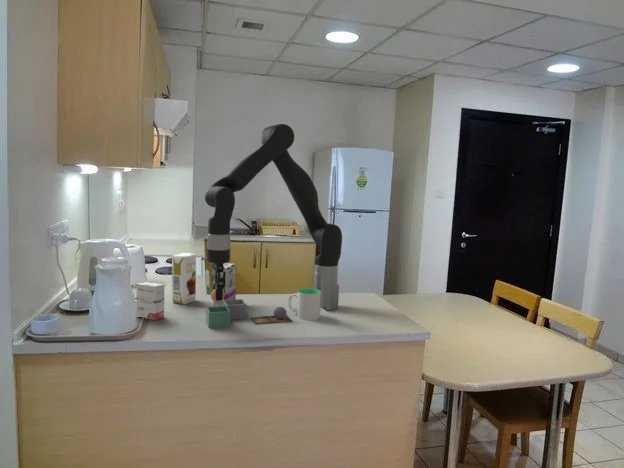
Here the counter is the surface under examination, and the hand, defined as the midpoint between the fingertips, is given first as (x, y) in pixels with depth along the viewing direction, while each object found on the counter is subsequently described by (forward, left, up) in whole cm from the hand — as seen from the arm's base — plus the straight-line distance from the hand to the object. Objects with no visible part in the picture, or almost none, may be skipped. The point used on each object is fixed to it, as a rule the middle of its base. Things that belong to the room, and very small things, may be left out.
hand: (217, 297), depth 159 cm
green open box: (0, 0, -10) cm, 10 cm away
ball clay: (0, 0, -1) cm, 1 cm away
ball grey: (-22, 0, -9) cm, 23 cm away
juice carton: (+8, -34, -10) cm, 36 cm away
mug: (-31, -2, -10) cm, 33 cm away
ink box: (+21, -16, -10) cm, 28 cm away
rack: (-19, 0, -10) cm, 21 cm away
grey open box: (-7, -8, -10) cm, 14 cm away
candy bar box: (-6, -22, -10) cm, 25 cm away
